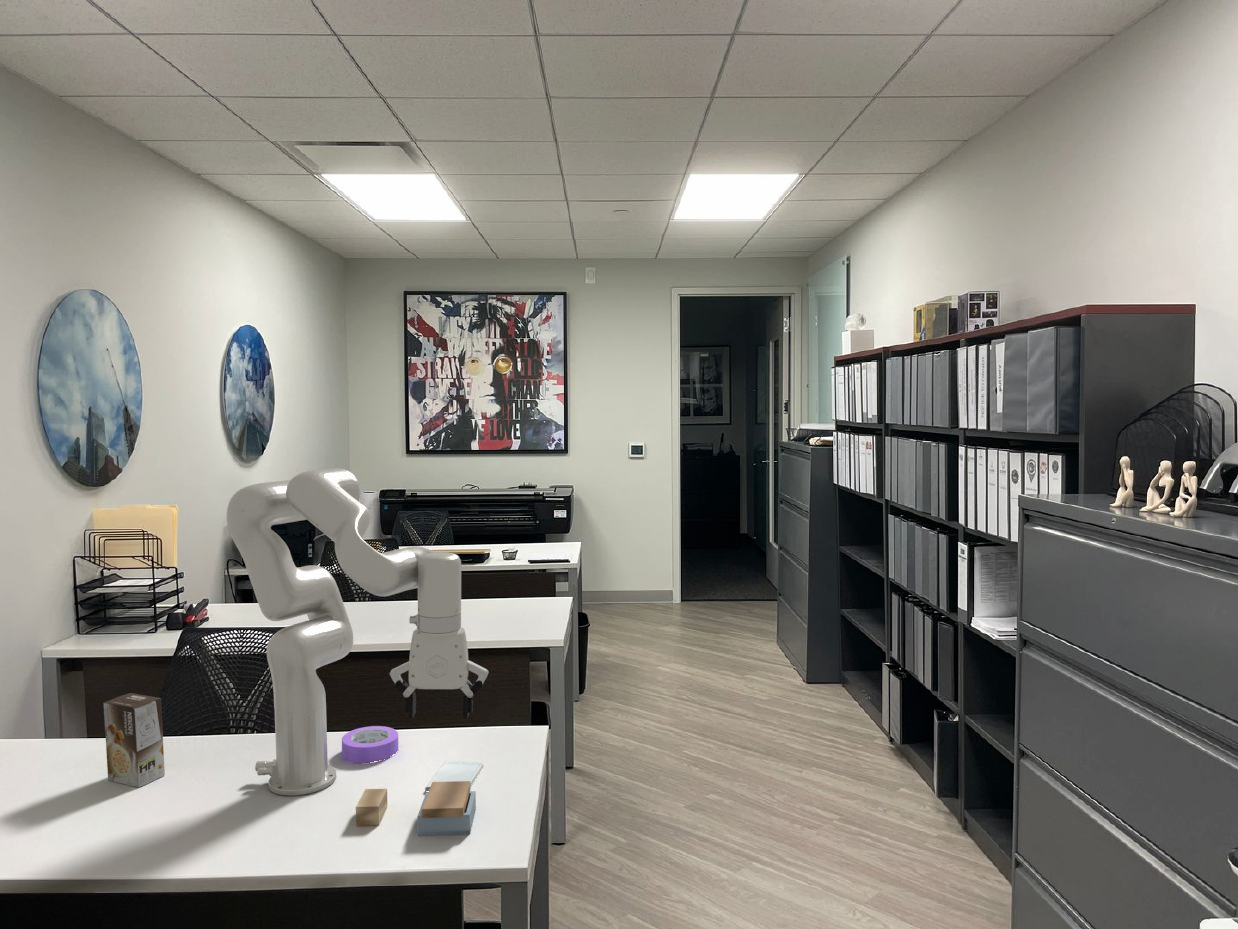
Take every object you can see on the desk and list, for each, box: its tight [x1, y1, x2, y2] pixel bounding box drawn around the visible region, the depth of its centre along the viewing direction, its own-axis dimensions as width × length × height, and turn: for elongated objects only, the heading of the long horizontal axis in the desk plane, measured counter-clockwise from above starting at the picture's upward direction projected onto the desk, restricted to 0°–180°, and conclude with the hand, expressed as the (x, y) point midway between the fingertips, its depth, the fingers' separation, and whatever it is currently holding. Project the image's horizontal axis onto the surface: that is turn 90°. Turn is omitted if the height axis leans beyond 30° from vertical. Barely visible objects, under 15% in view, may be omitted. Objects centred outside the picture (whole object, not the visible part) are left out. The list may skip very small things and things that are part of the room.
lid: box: [422, 781, 472, 818], centre depth 154 cm, size 7×10×2 cm, turn 3°
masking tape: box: [341, 725, 399, 765], centre depth 185 cm, size 12×12×4 cm
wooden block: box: [355, 788, 388, 827], centre depth 156 cm, size 4×7×4 cm, turn 3°
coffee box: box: [103, 692, 166, 788], centre depth 172 cm, size 9×6×16 cm
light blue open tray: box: [416, 790, 477, 836], centre depth 154 cm, size 9×9×4 cm
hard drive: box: [424, 760, 484, 791], centre depth 172 cm, size 2×8×12 cm
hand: (439, 716), depth 154 cm, fingers open, 9 cm apart
